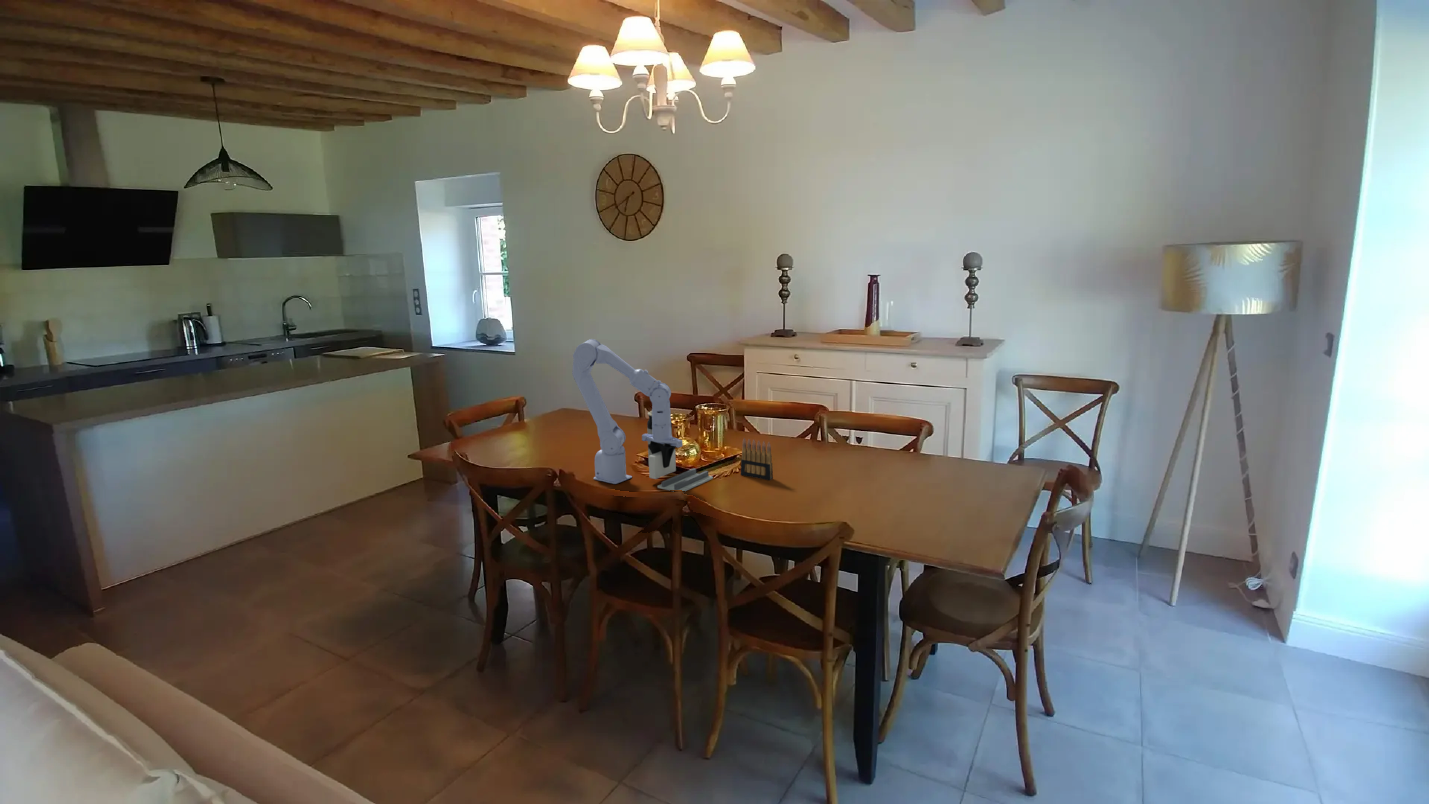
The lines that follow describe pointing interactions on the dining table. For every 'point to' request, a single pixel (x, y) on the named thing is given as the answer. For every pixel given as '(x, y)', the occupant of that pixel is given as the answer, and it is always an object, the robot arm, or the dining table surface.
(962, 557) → the dining table surface
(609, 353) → the robot arm
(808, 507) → the dining table surface
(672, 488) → the track
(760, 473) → the ammunition clip
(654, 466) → the door panel
